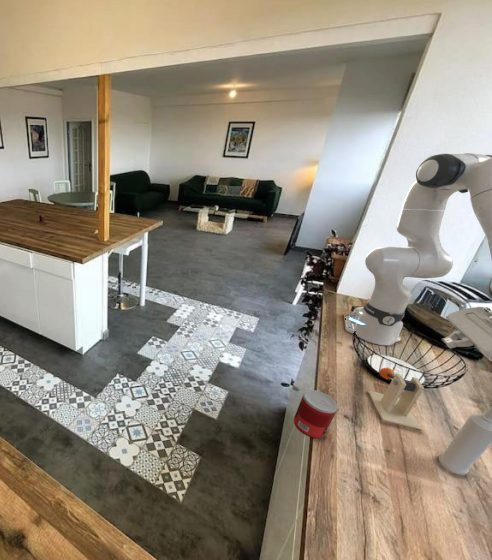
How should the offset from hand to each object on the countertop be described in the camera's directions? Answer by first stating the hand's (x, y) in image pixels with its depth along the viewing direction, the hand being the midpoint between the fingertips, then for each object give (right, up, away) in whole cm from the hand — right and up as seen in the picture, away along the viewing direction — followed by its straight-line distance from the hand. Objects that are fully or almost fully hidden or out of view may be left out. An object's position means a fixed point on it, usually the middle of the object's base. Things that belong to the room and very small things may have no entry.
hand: (445, 343), depth 91 cm
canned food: (-41, -24, -1) cm, 48 cm away
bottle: (-12, -30, -11) cm, 34 cm away
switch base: (-12, -22, +4) cm, 25 cm away
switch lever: (-11, -14, +5) cm, 18 cm away
